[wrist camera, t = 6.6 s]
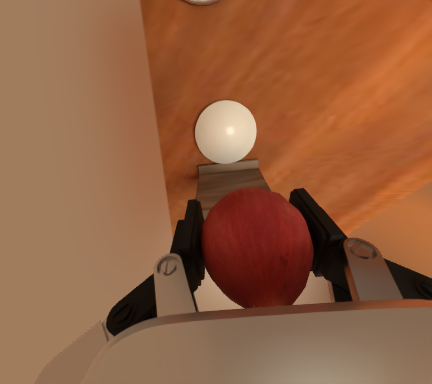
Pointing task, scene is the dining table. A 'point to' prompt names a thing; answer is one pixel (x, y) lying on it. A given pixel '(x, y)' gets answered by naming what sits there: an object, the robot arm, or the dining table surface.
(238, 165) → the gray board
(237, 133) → the coaster
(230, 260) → the onion
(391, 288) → the robot arm
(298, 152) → the dining table surface
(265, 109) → the dining table surface
